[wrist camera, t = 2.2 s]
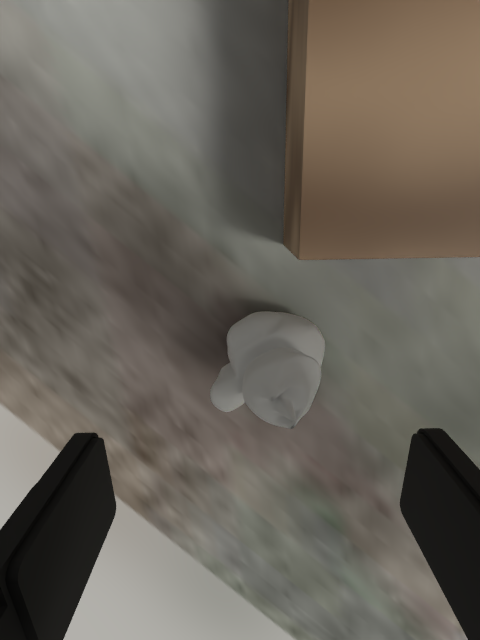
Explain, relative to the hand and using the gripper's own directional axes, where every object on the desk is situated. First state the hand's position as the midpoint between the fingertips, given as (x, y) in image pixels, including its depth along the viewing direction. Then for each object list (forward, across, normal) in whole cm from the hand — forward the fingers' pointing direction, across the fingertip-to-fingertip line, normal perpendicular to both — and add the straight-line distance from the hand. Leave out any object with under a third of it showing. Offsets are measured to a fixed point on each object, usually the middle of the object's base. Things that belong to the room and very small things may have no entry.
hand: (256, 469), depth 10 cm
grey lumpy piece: (+10, -1, 0) cm, 10 cm away
